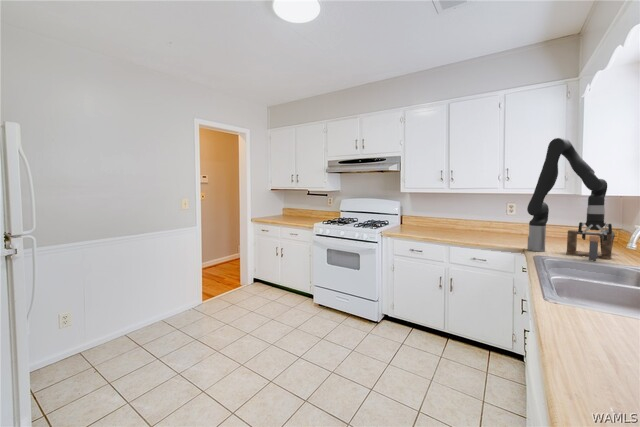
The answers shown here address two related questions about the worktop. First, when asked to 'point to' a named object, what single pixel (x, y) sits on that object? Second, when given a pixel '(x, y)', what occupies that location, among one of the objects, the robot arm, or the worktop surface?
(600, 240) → the beverage cup
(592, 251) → the peach and grey blocks
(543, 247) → the robot arm
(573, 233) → the hook stand
